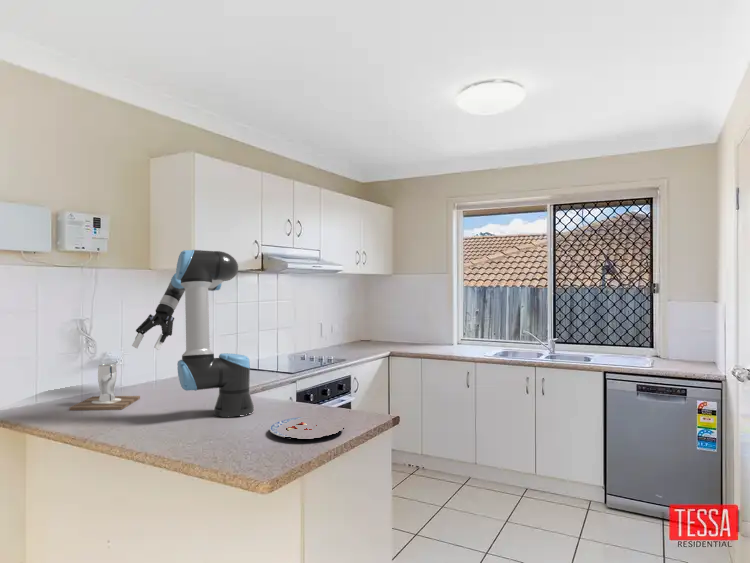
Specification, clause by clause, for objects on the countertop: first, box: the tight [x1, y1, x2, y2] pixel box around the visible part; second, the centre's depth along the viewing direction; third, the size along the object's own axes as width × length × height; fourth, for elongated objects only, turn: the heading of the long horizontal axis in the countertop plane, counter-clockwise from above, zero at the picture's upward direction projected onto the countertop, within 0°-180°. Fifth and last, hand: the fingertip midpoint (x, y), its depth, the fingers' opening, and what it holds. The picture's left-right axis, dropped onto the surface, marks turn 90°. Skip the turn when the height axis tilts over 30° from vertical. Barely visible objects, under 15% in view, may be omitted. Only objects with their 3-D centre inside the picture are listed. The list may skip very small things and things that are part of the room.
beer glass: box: [97, 363, 117, 402], centre depth 212 cm, size 7×7×15 cm
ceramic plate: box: [269, 416, 317, 438], centre depth 174 cm, size 26×26×3 cm
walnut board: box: [68, 395, 141, 411], centre depth 212 cm, size 20×20×2 cm
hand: (145, 347), depth 224 cm, fingers open, 13 cm apart
